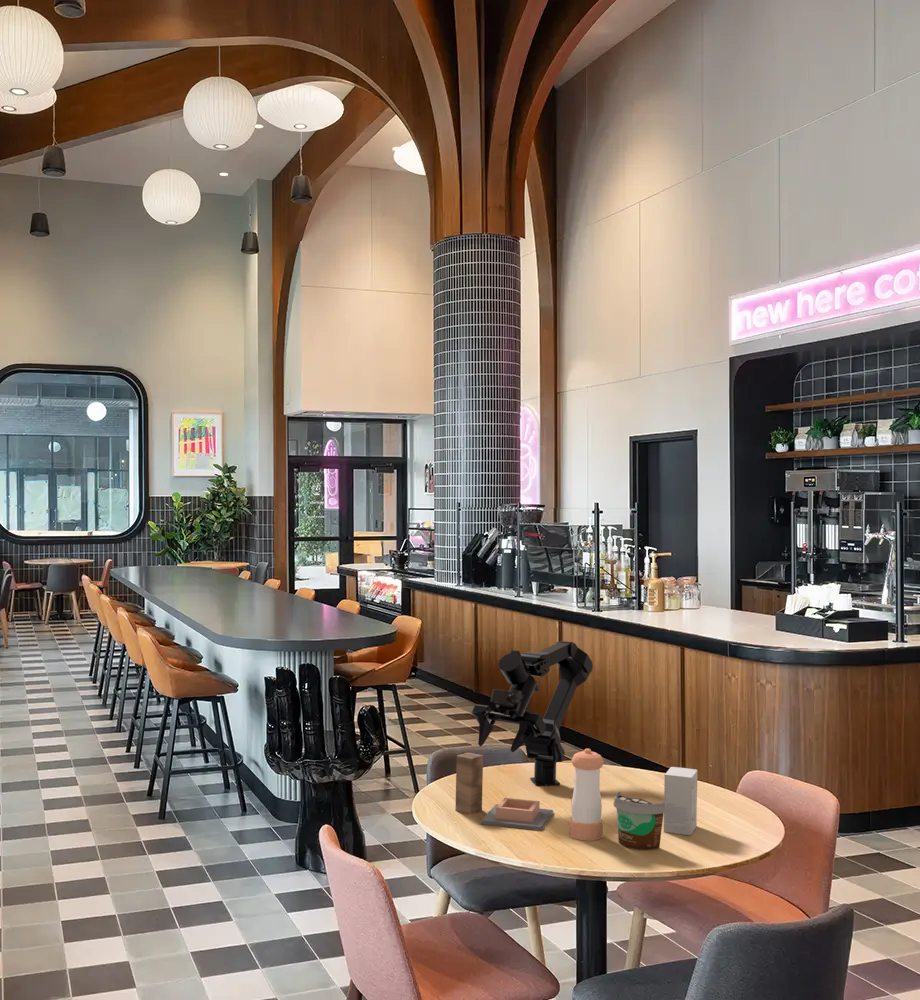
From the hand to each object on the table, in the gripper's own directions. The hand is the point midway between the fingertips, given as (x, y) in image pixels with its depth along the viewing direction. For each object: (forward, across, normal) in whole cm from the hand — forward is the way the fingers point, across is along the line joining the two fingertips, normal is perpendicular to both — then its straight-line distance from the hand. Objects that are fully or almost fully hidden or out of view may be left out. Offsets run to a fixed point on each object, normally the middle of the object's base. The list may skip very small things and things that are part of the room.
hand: (495, 748), depth 255 cm
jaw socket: (+14, +10, +5) cm, 18 cm away
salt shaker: (+15, +29, +4) cm, 33 cm away
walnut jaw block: (+15, -2, +4) cm, 16 cm away
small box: (+3, +44, +17) cm, 47 cm away
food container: (+15, +40, +4) cm, 43 cm away
